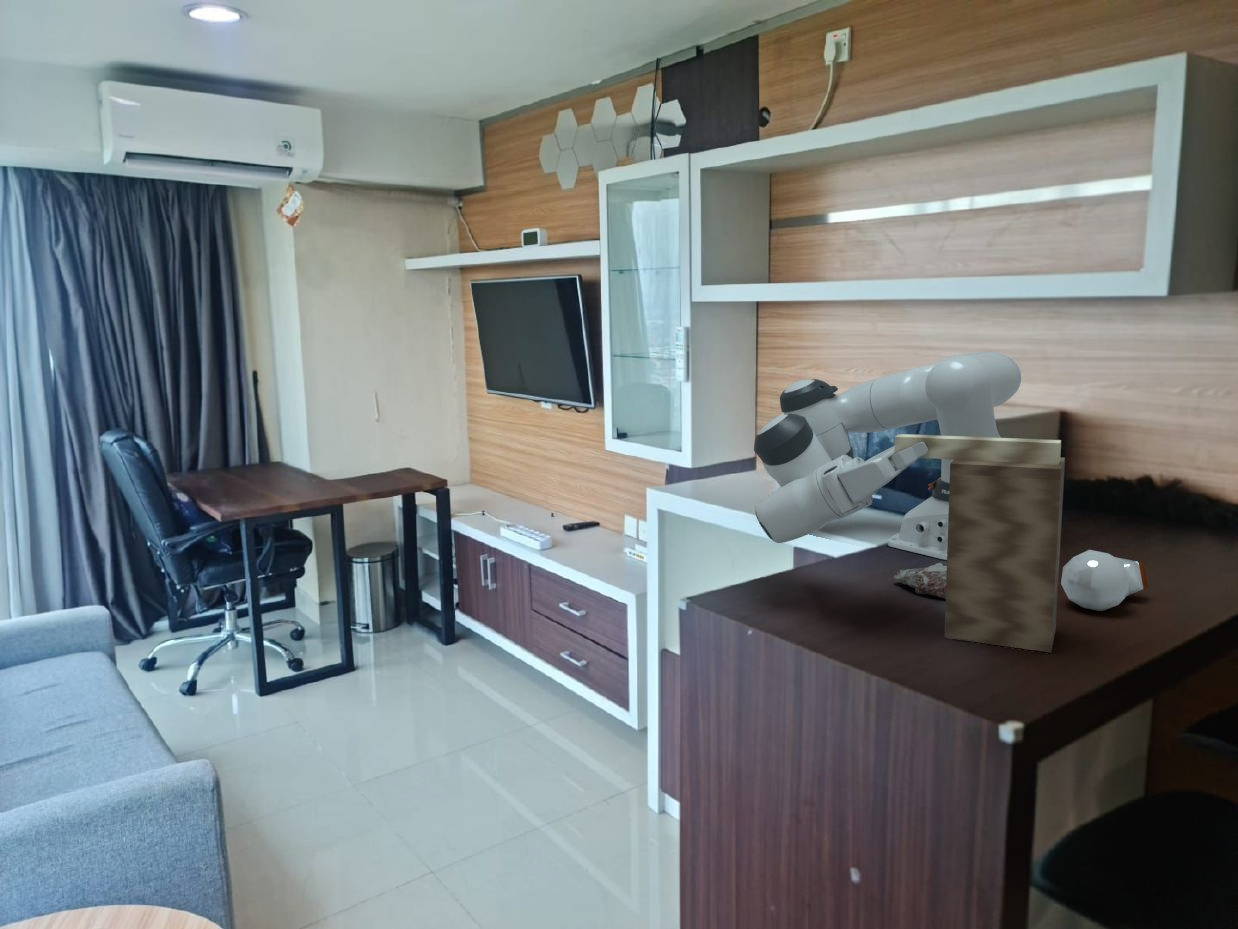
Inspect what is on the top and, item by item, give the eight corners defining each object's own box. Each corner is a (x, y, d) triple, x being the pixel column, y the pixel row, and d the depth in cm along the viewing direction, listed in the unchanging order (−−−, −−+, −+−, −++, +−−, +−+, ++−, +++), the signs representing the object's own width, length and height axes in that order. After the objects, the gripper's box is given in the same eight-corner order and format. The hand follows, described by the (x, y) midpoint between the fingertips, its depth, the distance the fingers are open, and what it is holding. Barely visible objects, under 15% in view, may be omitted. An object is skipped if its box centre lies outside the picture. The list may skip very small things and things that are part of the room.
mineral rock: (887, 585, 151) (888, 561, 151) (921, 578, 155) (922, 554, 154) (952, 610, 138) (953, 584, 137) (988, 602, 141) (989, 576, 141)
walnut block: (944, 638, 126) (950, 463, 122) (955, 617, 134) (961, 452, 130) (1051, 654, 119) (1061, 469, 115) (1055, 630, 128) (1065, 457, 123)
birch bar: (894, 456, 129) (894, 436, 128) (898, 453, 131) (899, 433, 131) (1058, 464, 118) (1059, 443, 117) (1060, 461, 120) (1061, 440, 120)
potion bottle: (1065, 622, 135) (1115, 613, 143) (1121, 599, 128) (1171, 591, 136) (1038, 567, 138) (1088, 561, 147) (1091, 542, 131) (1141, 538, 139)
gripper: (873, 489, 143) (951, 452, 136) (840, 515, 125) (927, 474, 118) (855, 456, 144) (931, 417, 137) (819, 477, 126) (904, 434, 119)
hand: (929, 443), depth 127 cm, fingers closed on birch bar, 3 cm apart
